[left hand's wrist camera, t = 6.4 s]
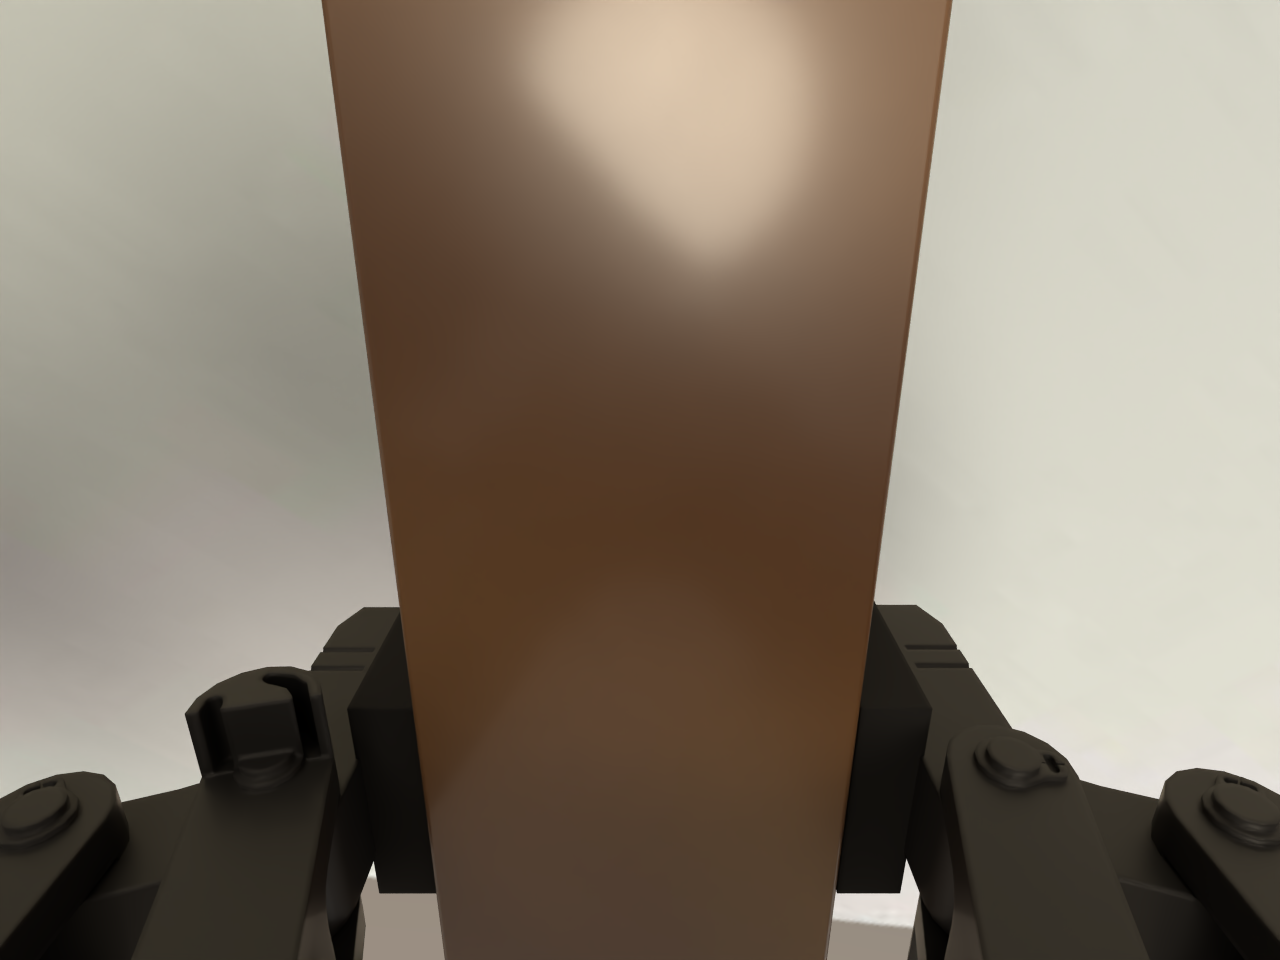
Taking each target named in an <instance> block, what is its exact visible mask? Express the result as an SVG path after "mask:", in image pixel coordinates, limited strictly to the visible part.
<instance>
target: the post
mask: <svg viewBox="0 0 1280 960" xmlns="http://www.w3.org/2000/svg"><path fill="white" fill-rule="evenodd" d="M952 1H953V0H322V8H323V16H324V24H325V31H326V39H327V47H328V55H329V62H330V70H331V78H332V86H333V94H334V101H335V109H336V117H337V125H338V132H339V140H340V148H341V156H342V163H343V171H344V179H345V187H346V194H347V202H348V210H349V218H350V226H351V233H352V241H353V249H354V257H355V264H356V272H357V280H358V288H359V295H360V303H361V311H362V319H363V327H364V334H365V342H366V350H367V358H368V365H369V373H370V381H371V389H372V396H373V404H374V412H375V420H376V428H377V435H378V443H379V451H380V459H381V466H382V474H383V482H384V490H385V497H386V505H387V513H388V521H389V529H390V536H391V544H392V552H393V560H394V567H395V575H396V583H397V591H398V598H399V606H400V614H401V622H402V630H403V637H404V645H405V653H406V661H407V668H408V676H409V684H410V692H411V699H412V707H413V715H414V723H415V731H416V738H417V746H418V754H419V762H420V769H421V777H422V785H423V793H424V800H425V808H426V816H427V824H428V831H429V839H430V847H431V855H432V863H433V870H434V878H435V886H436V894H437V901H438V909H439V917H440V925H441V932H442V940H443V948H444V956H445V960H827V953H828V946H829V938H830V931H831V923H832V915H833V908H834V900H835V893H836V885H837V877H838V870H839V862H840V855H841V847H842V839H843V832H844V824H845V816H846V809H847V801H848V794H849V786H850V778H851V771H852V763H853V755H854V748H855V740H856V733H857V725H858V717H859V710H860V702H861V695H862V687H863V679H864V672H865V664H866V656H867V649H868V641H869V634H870V626H871V618H872V611H873V603H874V596H875V588H876V580H877V573H878V565H879V557H880V550H881V542H882V535H883V527H884V519H885V512H886V504H887V496H888V489H889V481H890V474H891V466H892V458H893V451H894V443H895V436H896V428H897V420H898V413H899V405H900V397H901V390H902V382H903V375H904V367H905V359H906V352H907V344H908V337H909V329H910V321H911V314H912V306H913V298H914V291H915V283H916V276H917V268H918V260H919V253H920V245H921V237H922V230H923V222H924V215H925V207H926V199H927V192H928V184H929V177H930V169H931V161H932V154H933V146H934V138H935V131H936V123H937V116H938V108H939V100H940V93H941V85H942V77H943V70H944V62H945V55H946V47H947V39H948V32H949V24H950V17H951V9H952Z"/></svg>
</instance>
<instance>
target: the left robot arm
mask: <svg viewBox="0 0 1280 960" xmlns="http://www.w3.org/2000/svg"><path fill="white" fill-rule="evenodd" d="M185 717H186V720H187V724H188V728H189V731H190V735H191V739H192V742H193V746H194V750H195V753H196V757H197V760H198V764H199V768H200V771H201V775H202V778H201V781H200V783H199V784H195V785H192V786H189V787H185V788H182V789H178V790H174V791H170V792H165V793H161V794H156V795H152V796H148V797H143V798H139V799H134V800H130V801H126V802H121V800H120V797H119V794H118V791H117V788H116V785H115V784H114V783H113V782H112V781H111V780H109V779H108V778H107V777H106V776H105V775H103V774H96V773H90V772H84V771H82V772H74V773H67V774H59V775H54V776H51V777H48V778H45V779H42V780H39V781H36V782H33V783H30V784H27V785H25V786H23V787H21V788H20V789H18V790H16V791H14V792H12V793H10V794H8V795H6V796H4V797H3V798H1V799H0V960H362V958H363V948H364V937H365V927H366V925H365V918H364V911H363V905H362V900H361V892H362V890H363V887H364V884H365V882H366V879H367V877H368V874H369V871H370V869H371V866H372V864H373V861H374V865H375V871H376V877H377V882H378V888H379V893H436V886H435V878H434V870H433V863H432V855H431V847H430V839H429V831H428V824H427V816H426V808H425V800H424V793H423V785H422V777H421V769H420V762H419V754H418V746H417V738H416V731H415V723H414V715H413V707H412V699H411V692H410V684H409V676H408V668H407V661H406V653H405V645H404V637H403V630H402V622H401V614H400V607H364V608H362V609H361V610H359V611H358V612H357V613H355V614H354V615H353V616H351V617H350V618H348V619H347V620H346V621H344V622H343V623H341V624H340V625H339V626H338V627H337V628H336V630H335V631H334V633H333V634H332V636H331V637H330V639H329V640H328V642H327V643H326V645H325V646H324V648H323V652H320V654H319V655H318V657H317V658H316V660H315V661H314V663H313V664H312V666H311V671H306V670H302V669H299V668H295V667H291V666H289V667H265V668H261V669H257V670H252V671H248V672H244V673H241V674H238V675H236V676H234V677H231V678H229V679H227V680H224V681H222V682H220V683H218V684H216V685H215V686H213V687H212V688H210V689H209V690H208V691H206V692H205V693H203V694H202V695H201V696H199V697H198V698H197V699H196V700H195V701H194V703H193V704H192V705H191V706H190V708H189V709H188V710H187V712H186V713H185ZM906 859H907V861H908V864H909V866H910V869H911V871H912V874H913V877H914V879H915V882H916V884H917V887H918V890H919V892H920V895H919V900H918V905H917V911H916V916H915V921H914V926H913V932H912V937H911V942H910V948H909V953H908V959H907V960H1280V795H1279V794H1277V793H1275V792H1273V791H1271V790H1269V789H1267V788H1266V787H1264V786H1262V785H1260V784H1258V783H1256V782H1254V781H1251V780H1248V779H1246V778H1243V777H1239V776H1237V775H1233V774H1230V773H1227V772H1224V771H1216V770H1209V769H1201V768H1194V769H1188V770H1182V771H1177V772H1175V773H1174V774H1173V775H1172V776H1171V777H1170V778H1168V779H1167V780H1166V781H1165V783H1164V786H1163V789H1162V792H1161V795H1160V798H1159V799H1155V798H1151V797H1146V796H1142V795H1138V794H1133V793H1129V792H1124V791H1120V790H1116V789H1111V788H1107V787H1102V786H1099V785H1095V784H1092V783H1089V782H1085V781H1082V780H1080V779H1079V777H1078V775H1077V774H1076V772H1075V771H1074V769H1073V768H1072V766H1071V765H1070V763H1069V762H1068V760H1067V759H1066V758H1065V757H1064V756H1063V755H1061V754H1060V753H1059V752H1058V751H1056V750H1055V749H1054V748H1053V747H1051V746H1050V745H1049V744H1048V743H1046V742H1044V741H1042V740H1040V739H1038V738H1036V737H1034V736H1032V735H1029V734H1027V733H1025V732H1022V731H1019V730H1015V729H1012V727H1011V726H1010V724H1009V723H1008V721H1007V720H1006V718H1005V717H1004V716H1003V714H1002V713H1001V711H1000V710H999V708H998V707H997V705H996V704H995V702H994V701H993V699H992V698H991V696H990V695H989V693H988V692H987V690H986V689H985V687H984V686H983V684H982V683H981V681H980V680H979V678H978V677H977V675H976V674H975V672H974V671H973V669H972V668H969V663H968V662H967V660H966V659H965V657H964V656H963V654H962V653H961V651H960V650H957V645H956V644H955V642H954V641H953V639H952V638H951V636H950V635H949V633H948V632H947V630H946V629H945V627H944V626H943V624H942V623H941V622H939V621H938V620H936V619H935V618H934V617H932V616H931V615H929V614H928V613H927V612H925V611H924V610H922V609H921V608H920V607H918V606H917V605H876V604H875V602H874V603H873V611H872V618H871V626H870V634H869V641H868V649H867V656H866V664H865V672H864V679H863V687H862V695H861V702H860V710H859V717H858V725H857V733H856V740H855V748H854V755H853V763H852V771H851V778H850V786H849V794H848V801H847V809H846V816H845V824H844V832H843V839H842V847H841V855H840V862H839V870H838V877H837V885H836V891H837V893H900V891H901V885H902V880H903V874H904V868H905V863H906Z"/></svg>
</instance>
